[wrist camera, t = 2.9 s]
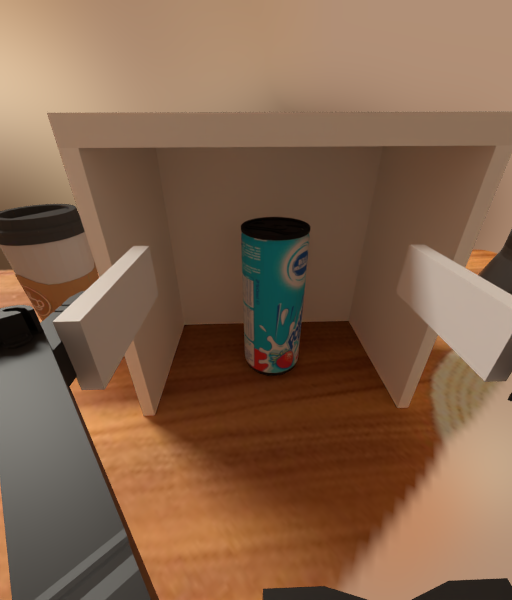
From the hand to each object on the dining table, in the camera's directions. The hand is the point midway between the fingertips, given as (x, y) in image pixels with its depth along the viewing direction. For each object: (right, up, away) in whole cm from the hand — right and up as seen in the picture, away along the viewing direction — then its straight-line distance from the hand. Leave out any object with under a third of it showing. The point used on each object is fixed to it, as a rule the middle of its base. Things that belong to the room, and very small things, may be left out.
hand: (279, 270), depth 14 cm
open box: (+1, -8, +17) cm, 19 cm away
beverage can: (+1, -8, +17) cm, 19 cm away
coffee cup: (-24, -6, +22) cm, 33 cm away
